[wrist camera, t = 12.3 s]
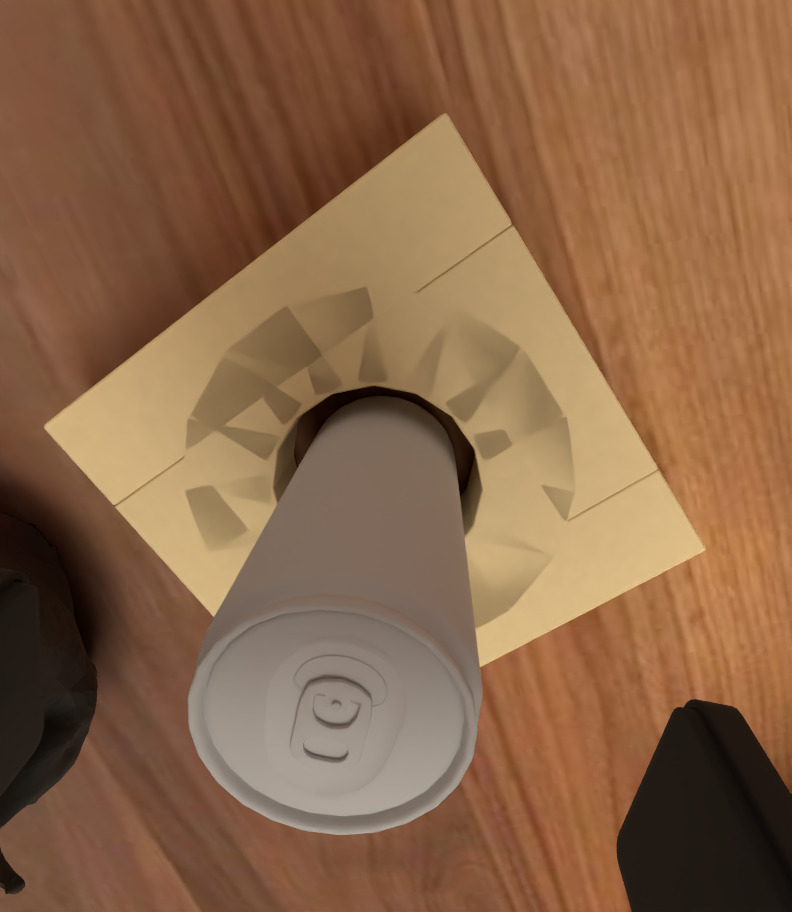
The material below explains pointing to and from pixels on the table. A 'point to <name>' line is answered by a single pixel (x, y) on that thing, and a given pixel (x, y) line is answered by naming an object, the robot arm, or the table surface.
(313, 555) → the beverage can
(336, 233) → the socket pad
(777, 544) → the table surface
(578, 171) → the table surface
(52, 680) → the coffee grinder
